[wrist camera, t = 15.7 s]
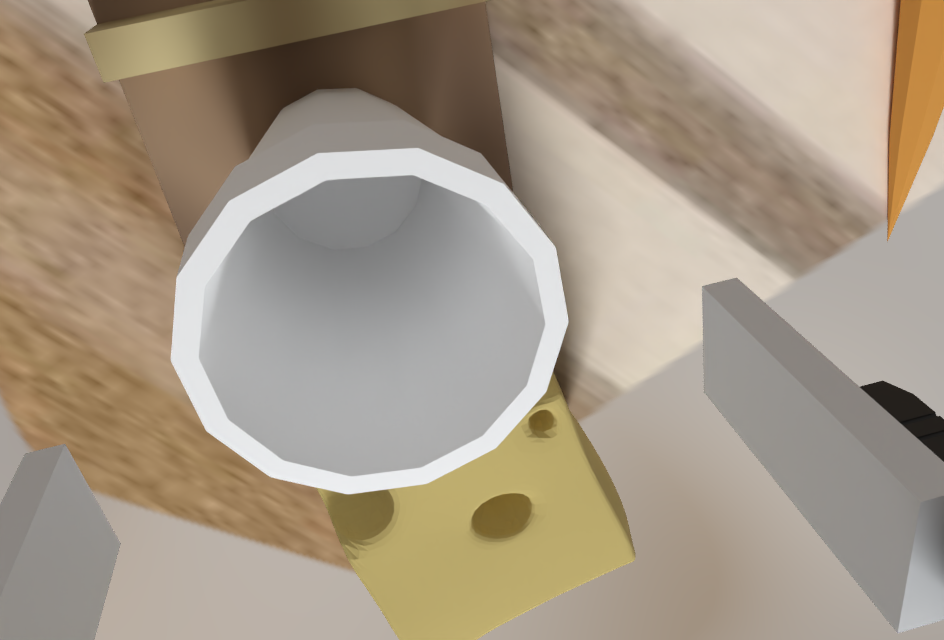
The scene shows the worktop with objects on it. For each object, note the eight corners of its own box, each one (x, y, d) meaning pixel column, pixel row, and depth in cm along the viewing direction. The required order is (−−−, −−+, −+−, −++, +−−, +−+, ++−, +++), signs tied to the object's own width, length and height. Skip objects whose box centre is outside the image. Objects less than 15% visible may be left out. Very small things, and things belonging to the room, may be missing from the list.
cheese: (290, 364, 35) (292, 518, 27) (505, 260, 35) (578, 381, 26) (390, 511, 40) (419, 678, 32) (577, 422, 40) (657, 566, 32)
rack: (399, -505, 22) (418, -567, 19) (517, 265, 35) (538, 300, 32) (-70, -438, 21) (-129, -492, 18) (229, 336, 34) (223, 380, 31)
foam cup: (509, 181, 31) (633, 342, 20) (338, 323, 33) (367, 546, 22) (348, -17, 27) (396, 51, 16) (157, 159, 28) (76, 336, 17)
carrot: (909, -247, 29) (947, -242, 26) (1045, -265, 28) (1104, -263, 25) (829, 219, 41) (848, 267, 37) (923, 217, 40) (951, 265, 36)
